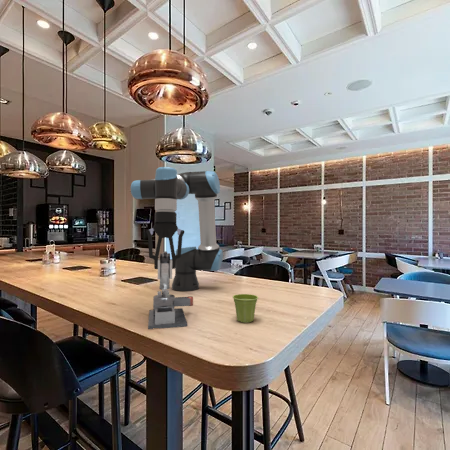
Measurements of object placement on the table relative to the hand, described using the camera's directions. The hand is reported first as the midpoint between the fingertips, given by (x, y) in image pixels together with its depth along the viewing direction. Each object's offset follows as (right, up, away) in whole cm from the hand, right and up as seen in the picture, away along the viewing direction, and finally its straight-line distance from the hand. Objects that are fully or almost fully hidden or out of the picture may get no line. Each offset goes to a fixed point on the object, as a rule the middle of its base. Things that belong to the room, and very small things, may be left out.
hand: (164, 278), depth 98 cm
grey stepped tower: (0, -4, 0) cm, 4 cm away
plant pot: (+29, -17, +5) cm, 33 cm away
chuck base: (0, -16, +6) cm, 17 cm away
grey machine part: (+1, -15, +11) cm, 18 cm away
